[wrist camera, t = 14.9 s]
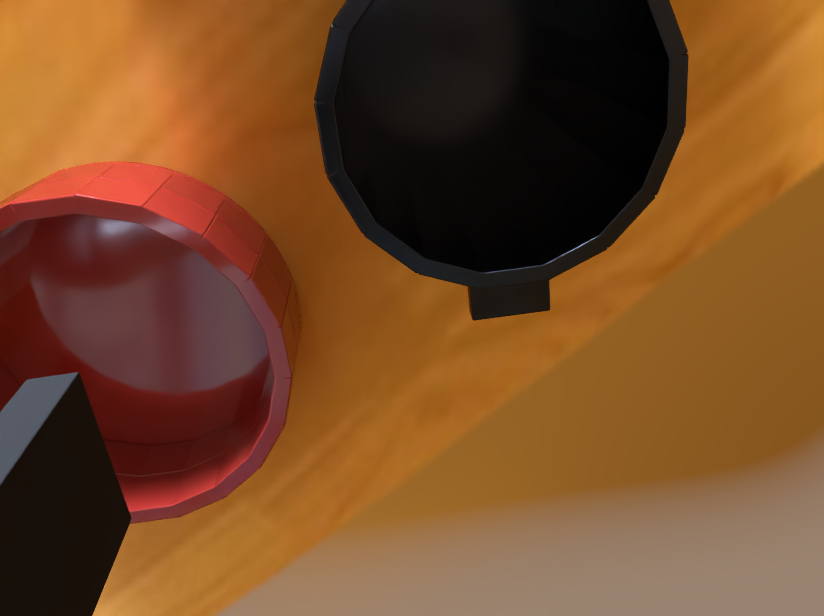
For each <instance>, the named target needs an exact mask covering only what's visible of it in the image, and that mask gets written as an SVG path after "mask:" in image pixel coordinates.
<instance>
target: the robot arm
mask: <svg viewBox="0 0 824 616" xmlns="http://www.w3.org/2000/svg"><path fill="white" fill-rule="evenodd" d="M131 519H132V518H131V515H130V512H129V509H128V507H127V504H126V501H125V498H124V496H123V493H122V490H121V487H120V484H119V482H118V479H117V476H116V473H115V471H114V468H113V465H112V462H111V460H110V457H109V454H108V451H107V448H106V446H105V443H104V440H103V437H102V435H101V432H100V429H99V426H98V423H97V421H96V418H95V415H94V412H93V410H92V407H91V404H90V401H89V398H88V396H87V393H86V390H85V387H84V385H83V382H82V379H81V376H80V373H79V372H76V373H69V374H62V375H55V376H48V377H41V378H34V379H27V380H26V381H25V382H24V384H23V385H22V386H21V387H20V389H19V390H18V391H17V392H16V393H15V395H14V396H13V397H12V398H11V400H10V401H9V402H8V403H7V405H6V406H5V407H4V408H3V409H2V411H1V412H0V616H92V615H93V612H94V610H95V607H96V605H97V603H98V600H99V598H100V595H101V593H102V590H103V588H104V585H105V583H106V580H107V578H108V576H109V573H110V571H111V568H112V566H113V563H114V561H115V558H116V556H117V553H118V551H119V549H120V546H121V544H122V541H123V539H124V536H125V534H126V531H127V529H128V526H129V524H130V522H131Z"/></svg>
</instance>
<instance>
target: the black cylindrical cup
mask: <svg viewBox="0 0 824 616" xmlns="http://www.w3.org/2000/svg"><path fill="white" fill-rule="evenodd" d="M687 53H688V50H687V48H686V45H685V42H684V39H683V37H682V34H681V31H680V28H679V26H678V23H677V20H676V17H675V15H674V12H673V9H672V7H671V4H670V1H669V0H346V1H345V3H344V4H343V6H342V7H341V9H340V10H339V12H338V13H337V15H336V17H335V18H334V20H333V22H332V25H331V26H330V30H329V35H328V39H327V43H326V48H325V52H324V57H323V61H322V66H321V70H320V75H319V79H318V84H317V88H316V93H315V97H314V101H315V103H314V107H315V113H316V119H317V125H318V131H319V137H320V143H321V149H322V155H323V161H324V167H325V173H326V174H327V178H328V180H329V181H330V183H331V184H332V186H333V188H334V189H335V191H336V192H337V194H338V196H339V197H340V199H341V200H342V202H343V204H344V205H345V207H346V208H347V210H348V212H349V213H350V215H351V216H352V218H353V220H354V221H355V223H356V224H357V226H358V228H359V229H360V231H361V232H362V233H363V234H364V236H365V237H366V238H368V239H369V240H370V241H372V242H373V243H375V244H376V245H377V246H379V247H380V248H382V249H383V250H384V251H386V252H387V253H389V254H390V255H391V256H393V257H394V258H396V259H397V260H398V261H400V262H401V263H403V264H404V265H405V266H407V267H408V268H410V269H411V270H412V271H414V272H415V273H418V274H419V275H423V276H428V277H432V278H436V279H440V280H444V281H448V282H452V283H457V284H461V285H465V286H467V287H468V298H469V309H470V313H471V316H472V319H473V320H481V319H489V318H496V317H504V316H511V315H519V314H526V313H534V312H541V311H549V310H550V290H549V280H550V279H552V278H554V277H555V276H557V275H559V274H561V273H563V272H565V271H567V270H569V269H571V268H573V267H575V266H576V265H578V264H580V263H582V262H584V261H586V260H588V259H590V258H592V257H594V256H595V255H597V254H599V253H601V252H603V251H605V250H607V247H610V246H611V245H612V244H613V243H614V242H615V241H616V240H617V238H618V237H619V236H620V235H621V234H622V233H623V232H624V231H625V230H626V229H627V228H628V227H629V225H630V224H631V223H632V222H633V221H634V220H635V219H636V218H637V217H638V216H639V215H640V214H641V213H642V211H643V210H644V209H645V208H646V207H647V206H648V205H649V204H650V203H651V202H652V201H653V200H654V198H655V196H654V195H657V194H658V191H659V189H660V187H661V184H662V182H663V180H664V177H665V175H666V173H667V170H668V168H669V166H670V163H671V161H672V159H673V156H674V154H675V152H676V149H677V147H678V144H679V142H680V140H681V137H682V135H683V133H684V129H683V128H685V125H686V101H687V78H688V54H687Z"/></svg>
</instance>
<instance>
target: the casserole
mask: <svg viewBox="0 0 824 616" xmlns="http://www.w3.org/2000/svg"><path fill="white" fill-rule="evenodd" d="M300 331H301V321H300V312H299V304H298V297H297V293H296V290H295V286H294V282H293V279H292V277H291V274H290V272H289V270H288V267H287V265H286V263H285V260H284V259H283V257H282V255H281V254H280V252H279V250H278V249H277V247H276V245H275V244H274V242H273V241H272V240H271V238H270V237H269V236H268V234H267V233H266V232H265V231H264V229H263V228H262V227H261V226H260V225H259V224H258V223H257V222H256V221H255V220H254V219H253V218H252V217H251V216H250V215H249V214H248V213H247V212H246V211H245V210H244V209H243V208H242V207H240V206H239V205H238V204H236V203H235V202H234V201H233V200H231V199H230V198H229V197H227V196H226V195H224V194H223V193H221V192H219V191H218V190H216V189H214V188H213V187H211V186H209V185H208V184H206V183H203V182H201V181H199V180H197V179H194V178H192V177H190V176H188V175H186V174H182V173H179V172H176V171H173V170H170V169H167V168H163V167H158V166H153V165H148V164H142V163H132V162H102V163H91V164H86V165H81V166H76V167H71V168H68V169H63V170H59V171H57V172H55V173H53V174H51V175H49V176H47V177H45V178H43V179H41V180H39V181H37V182H35V183H33V184H32V185H30V186H28V187H26V188H24V189H22V190H20V191H18V192H16V193H14V194H12V195H11V196H9V197H7V198H6V199H4V200H3V201H1V202H0V412H1V411H2V409H3V408H4V407H5V406H6V405H7V403H8V402H9V401H10V400H11V398H12V397H13V396H14V395H15V393H16V392H17V391H18V390H19V389H20V387H21V386H22V385H23V384H24V382H25V381H26V380H27V379H34V378H41V377H48V376H55V375H62V374H69V373H76V372H79V373H80V376H81V379H82V382H83V385H84V387H85V390H86V393H87V396H88V398H89V401H90V404H91V407H92V410H93V412H94V415H95V418H96V421H97V423H98V426H99V429H100V432H101V435H102V437H103V440H104V443H105V446H106V448H107V451H108V454H109V457H110V460H111V462H112V465H113V468H114V471H115V473H116V476H117V479H118V482H119V484H120V487H121V490H122V493H123V496H124V498H125V501H126V504H127V507H128V509H129V512H130V515H131V518H132V519H131V522H130V524H133V523H140V522H148V521H155V520H162V519H170V518H177V517H181V516H184V515H186V514H188V513H191V512H193V511H195V510H198V509H200V508H202V507H205V506H207V505H209V504H212V503H214V502H216V501H219V500H221V499H223V498H225V497H227V496H228V495H229V494H230V493H231V492H232V491H234V490H235V489H236V488H237V487H238V486H239V485H241V484H242V483H243V482H244V481H245V480H246V479H248V478H249V477H250V476H251V475H252V474H253V473H255V472H256V471H257V470H258V469H259V468H261V466H262V465H263V463H264V462H265V460H266V458H267V456H268V455H269V453H270V451H271V449H272V448H273V446H274V444H275V442H276V441H277V439H278V437H279V435H280V434H281V432H282V430H283V428H284V427H285V424H286V418H287V412H288V406H289V400H290V394H291V388H292V382H293V376H294V370H295V364H296V357H297V351H298V344H299V338H300Z"/></svg>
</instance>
